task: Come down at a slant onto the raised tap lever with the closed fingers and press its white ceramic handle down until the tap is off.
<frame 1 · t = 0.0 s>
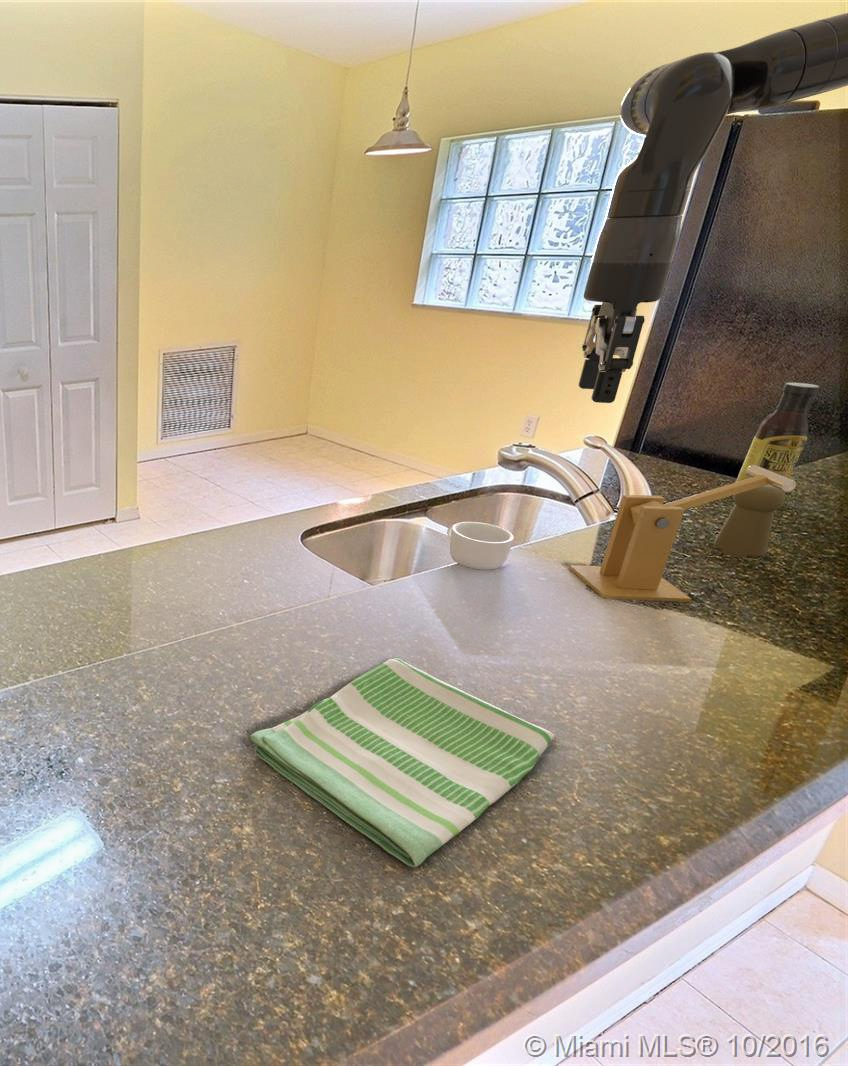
hand: (594, 395, 89), 26 cm above the countertop, tool pointing down, fingers open, 8 cm apart
tap lever: (704, 497, 89), point 14 cm above the countertop, hinge at 24.0°
sauce bottle: (755, 498, 124), on the countertop
cork: (735, 557, 103), on the countertop
teacup: (468, 563, 104), on the countertop
dish towel: (397, 755, 68), on the countertop
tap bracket: (624, 590, 95), on the countertop
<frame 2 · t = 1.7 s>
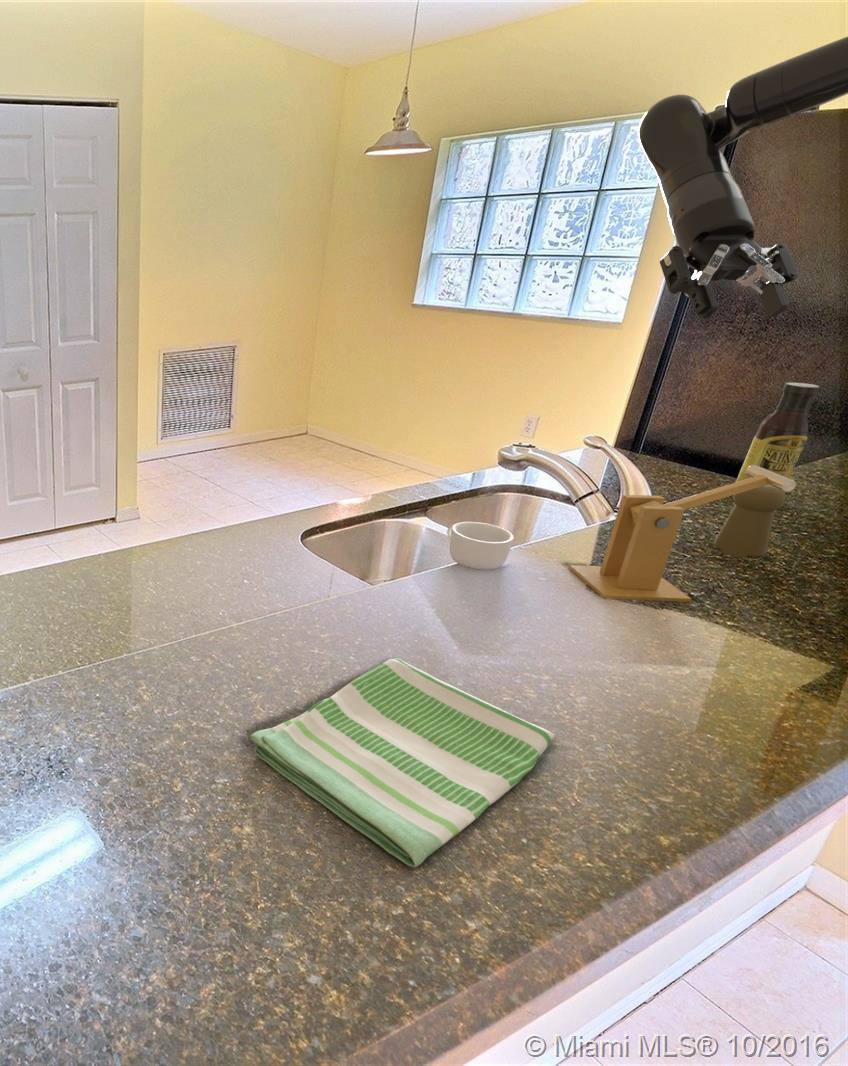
hand: (743, 313, 91), 34 cm above the countertop, tool tilted 45°, fingers open, 7 cm apart
nothing on the countertop moved.
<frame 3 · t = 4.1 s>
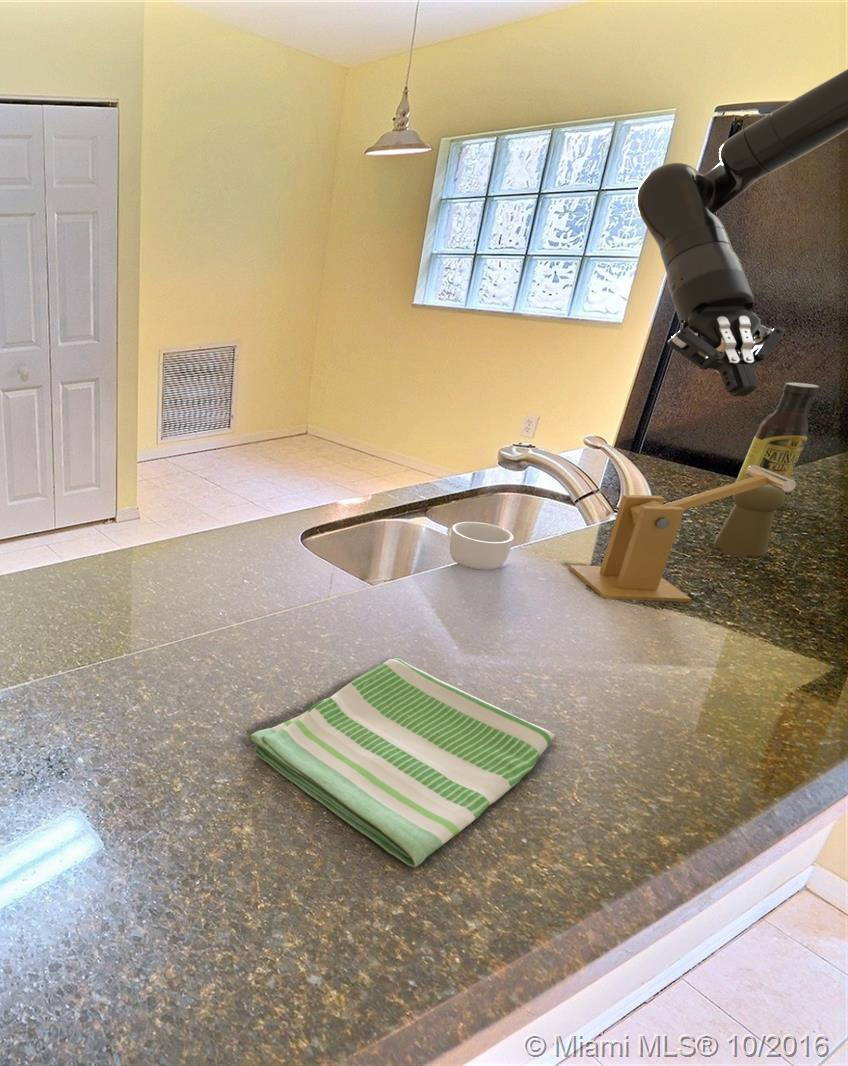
hand: (744, 392, 91), 25 cm above the countertop, tool tilted 45°, fingers closed
nothing on the countertop moved.
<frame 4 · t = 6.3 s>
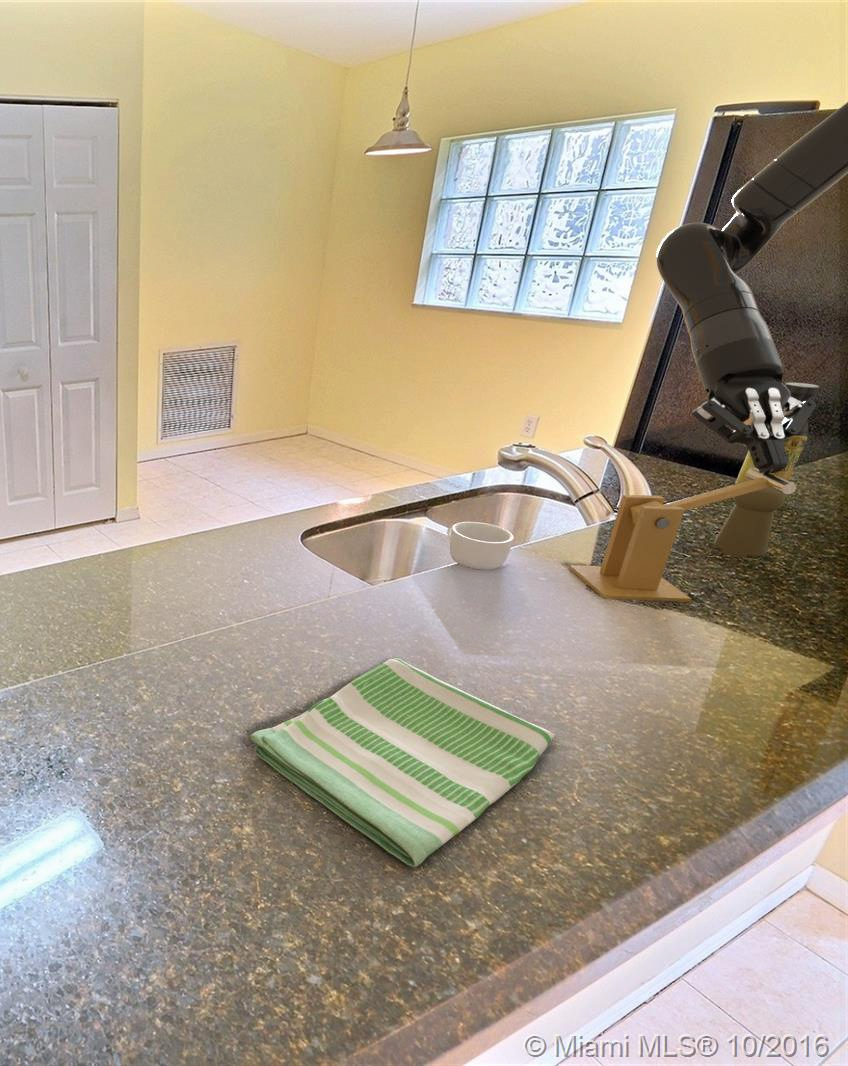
hand: (774, 470, 87), 17 cm above the countertop, tool tilted 45°, fingers closed
tap lever: (705, 499, 89), point 13 cm above the countertop, hinge at 22.1°
everything else where it was.
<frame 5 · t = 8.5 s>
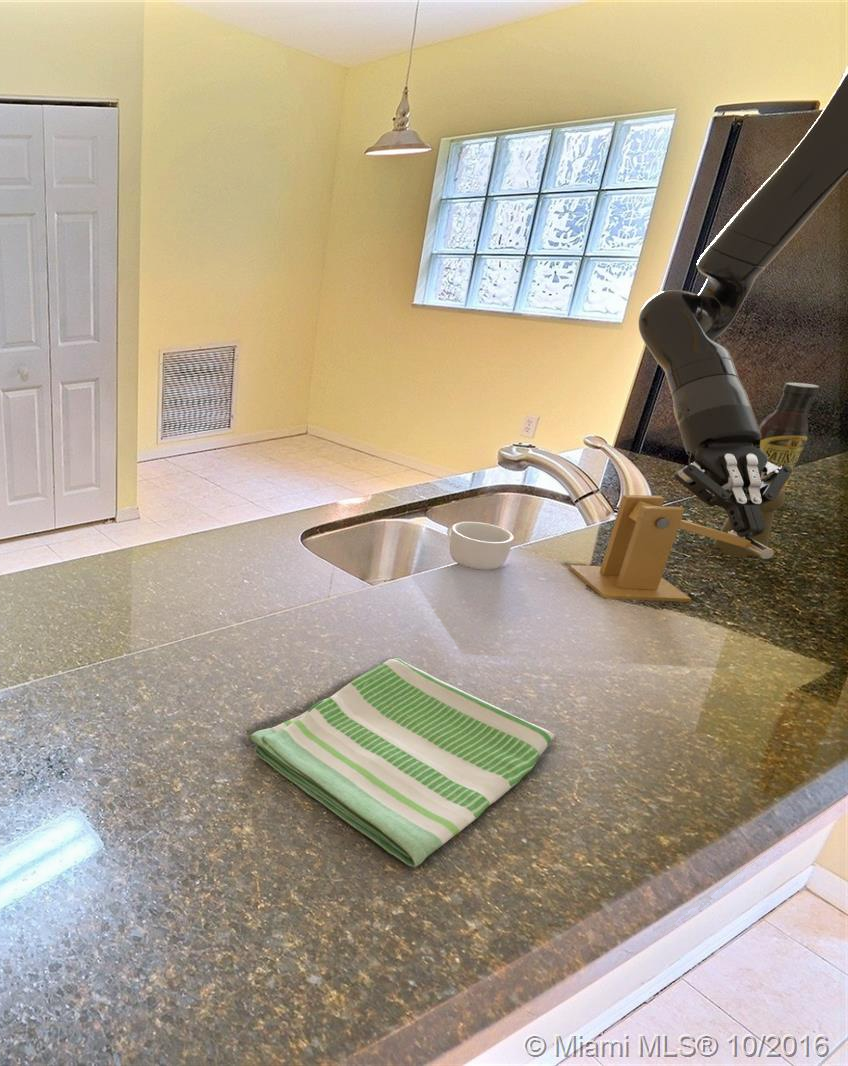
hand: (751, 534, 90), 9 cm above the countertop, tool tilted 45°, fingers closed
tap lever: (696, 528, 91), point 9 cm above the countertop, hinge at -16.6°
everything else where it was.
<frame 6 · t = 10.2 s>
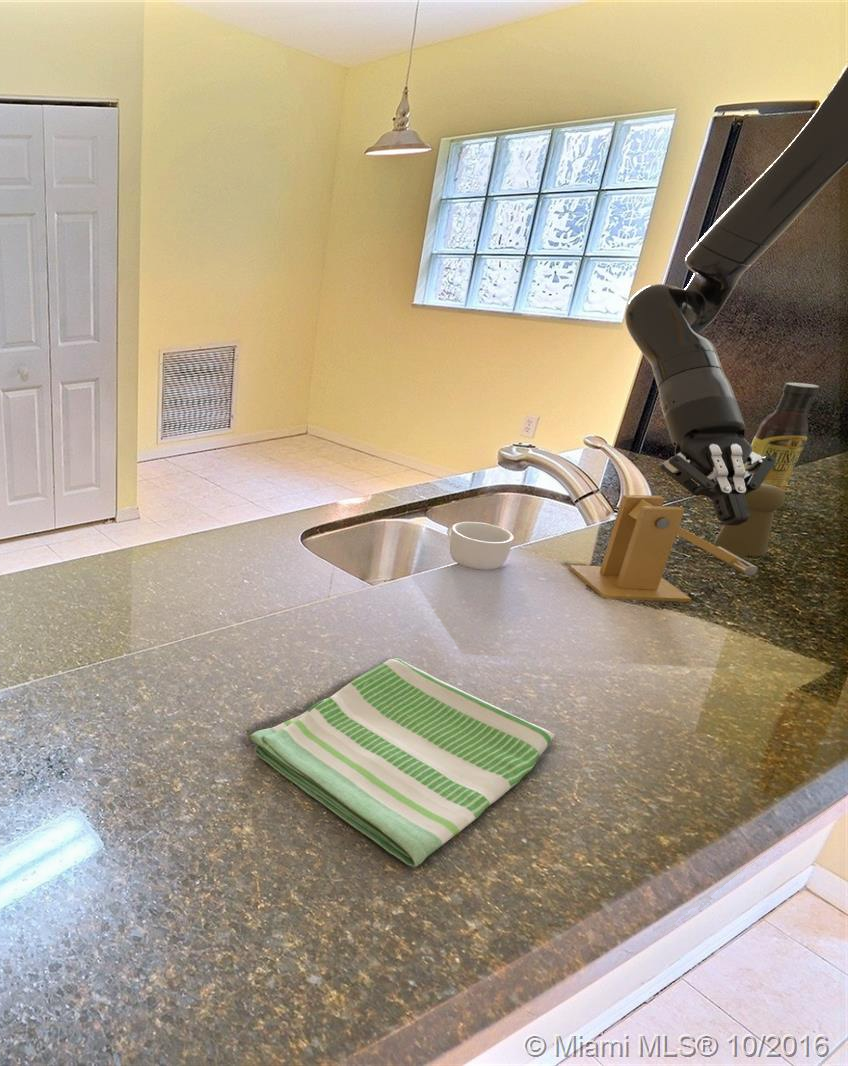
hand: (736, 523, 91), 9 cm above the countertop, tool tilted 45°, fingers closed
tap lever: (689, 536, 91), point 8 cm above the countertop, hinge at -28.1°
everything else where it was.
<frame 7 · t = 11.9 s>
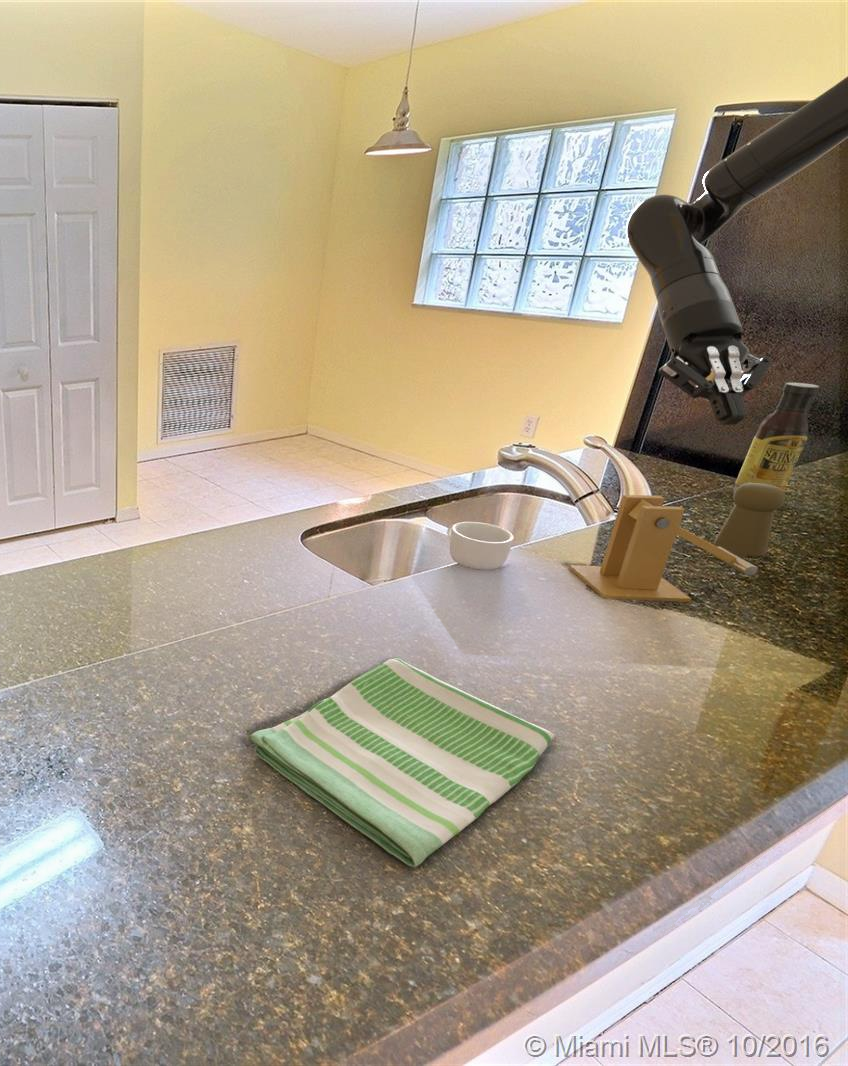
hand: (733, 421, 93), 21 cm above the countertop, tool tilted 45°, fingers closed
nothing on the countertop moved.
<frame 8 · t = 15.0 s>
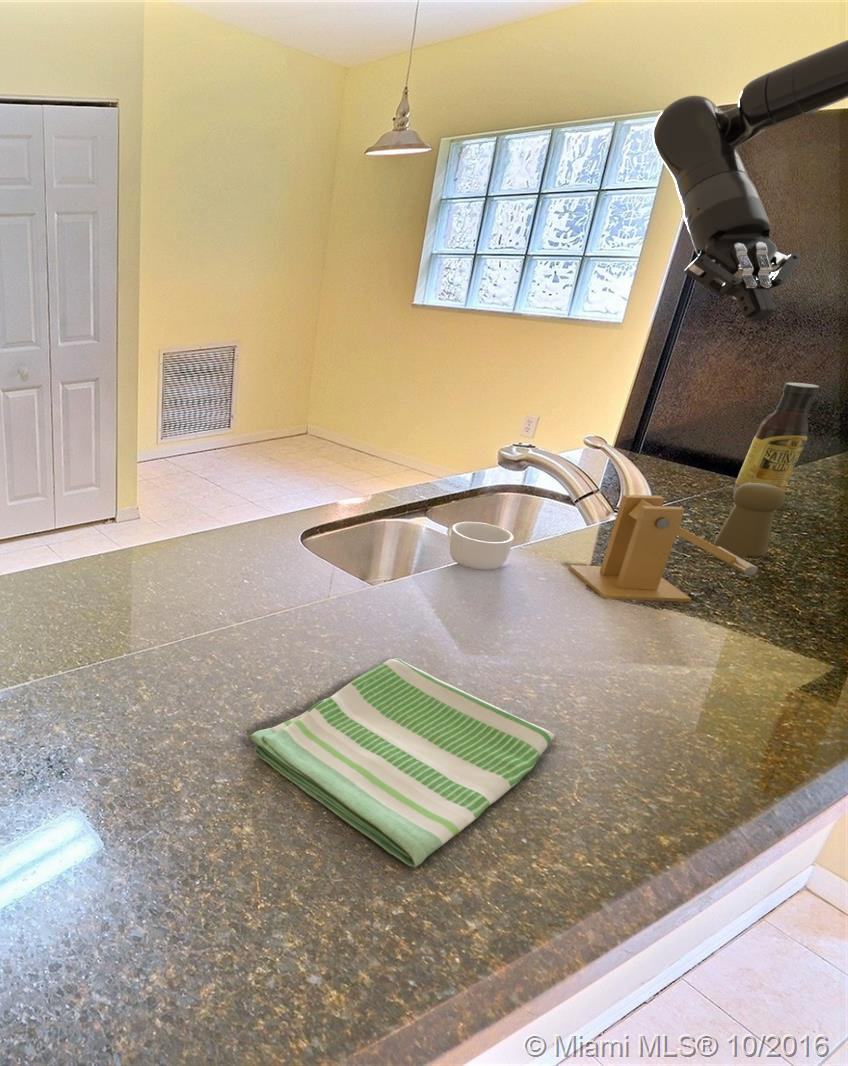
hand: (761, 317, 92), 34 cm above the countertop, tool tilted 45°, fingers closed
nothing on the countertop moved.
at the end: tap lever at -28° (first picture: +24°); cork moved 0.2 cm from its start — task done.
